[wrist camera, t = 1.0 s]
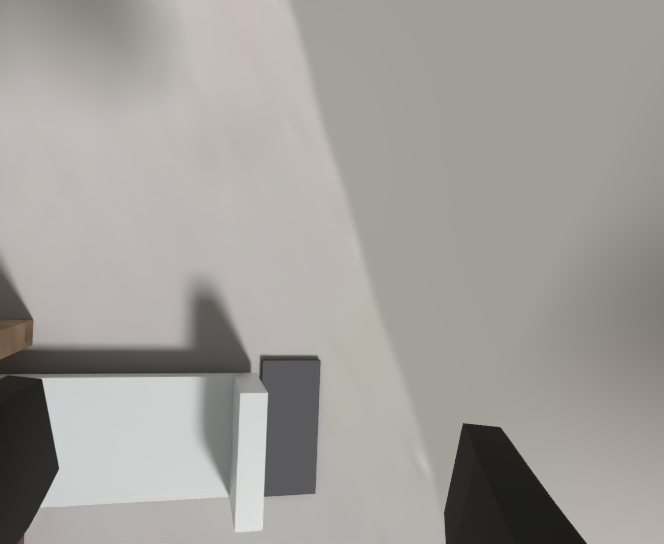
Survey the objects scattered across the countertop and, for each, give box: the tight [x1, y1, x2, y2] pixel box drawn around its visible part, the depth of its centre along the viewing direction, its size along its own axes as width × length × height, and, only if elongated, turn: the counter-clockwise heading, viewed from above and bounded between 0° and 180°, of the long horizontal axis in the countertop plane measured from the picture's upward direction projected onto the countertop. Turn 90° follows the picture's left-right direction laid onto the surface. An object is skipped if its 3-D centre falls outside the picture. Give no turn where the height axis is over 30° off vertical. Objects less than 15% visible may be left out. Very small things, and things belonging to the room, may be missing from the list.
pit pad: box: [262, 360, 320, 497], centre depth 24 cm, size 6×3×1 cm, turn 178°
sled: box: [0, 373, 268, 532], centre depth 20 cm, size 5×17×4 cm, turn 88°
